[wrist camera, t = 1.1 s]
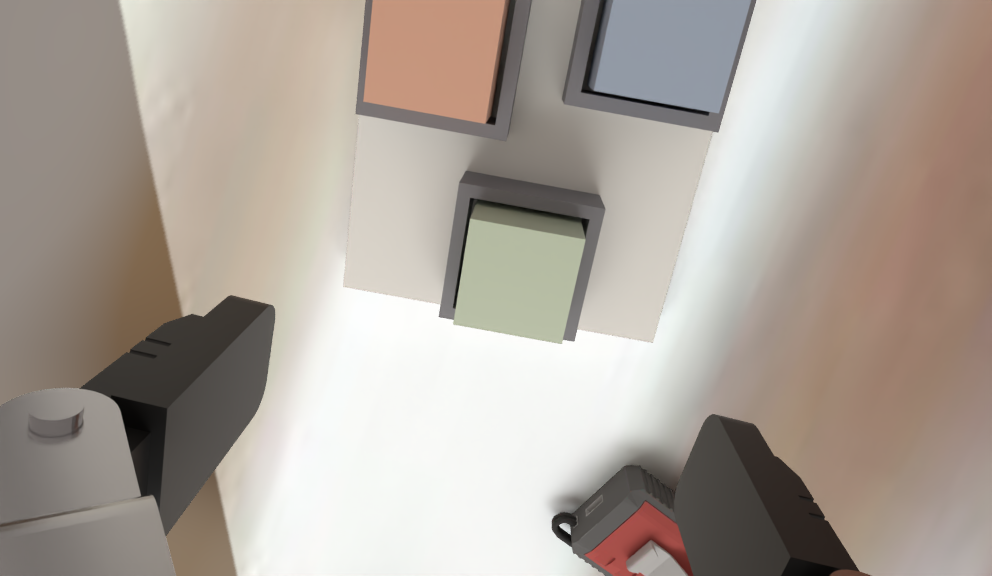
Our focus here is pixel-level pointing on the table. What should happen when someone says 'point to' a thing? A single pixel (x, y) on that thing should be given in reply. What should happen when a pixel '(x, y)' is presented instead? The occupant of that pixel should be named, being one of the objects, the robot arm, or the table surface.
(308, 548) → the table surface
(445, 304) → the button panel
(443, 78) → the terracotta button
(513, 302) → the sage green button
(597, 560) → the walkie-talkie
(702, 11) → the slate blue button
